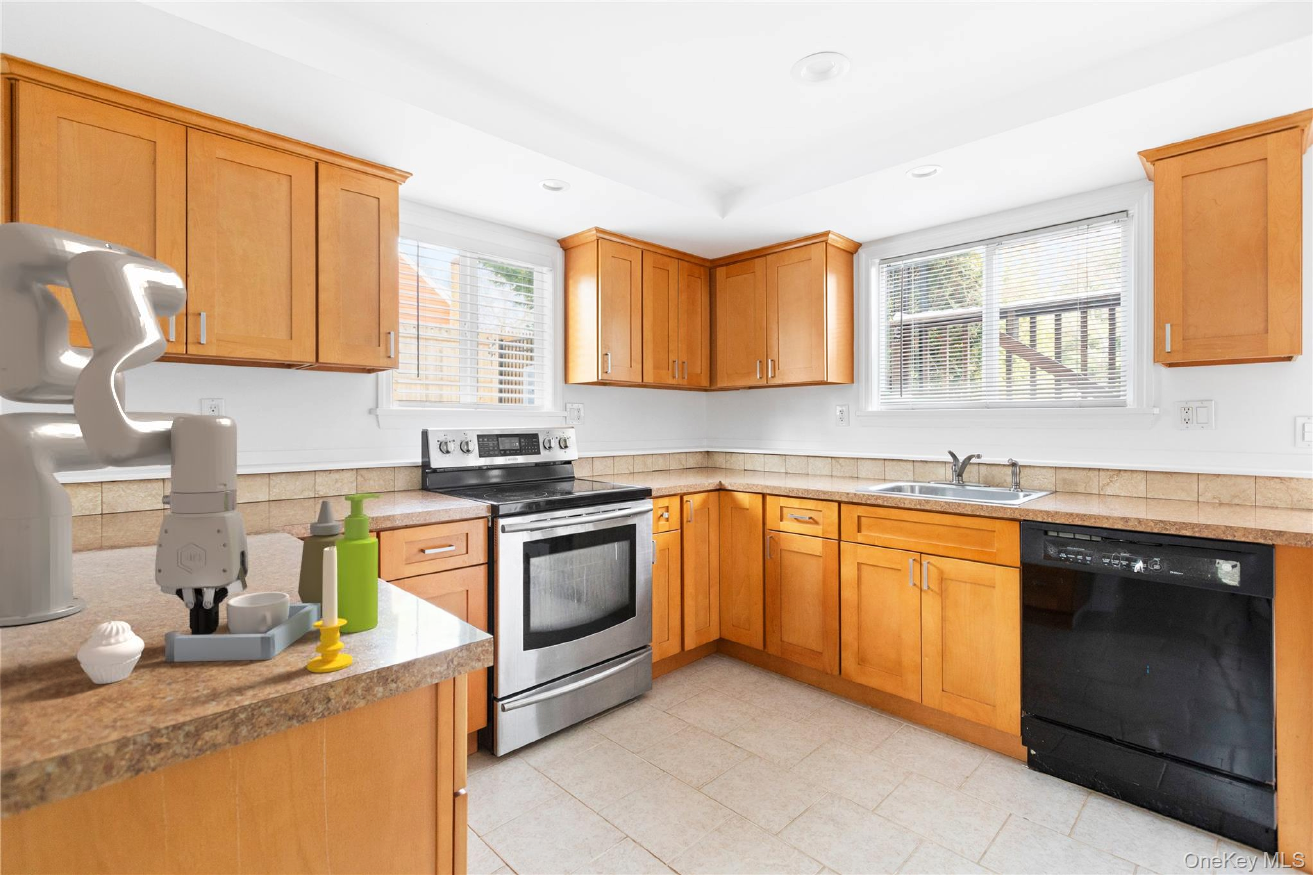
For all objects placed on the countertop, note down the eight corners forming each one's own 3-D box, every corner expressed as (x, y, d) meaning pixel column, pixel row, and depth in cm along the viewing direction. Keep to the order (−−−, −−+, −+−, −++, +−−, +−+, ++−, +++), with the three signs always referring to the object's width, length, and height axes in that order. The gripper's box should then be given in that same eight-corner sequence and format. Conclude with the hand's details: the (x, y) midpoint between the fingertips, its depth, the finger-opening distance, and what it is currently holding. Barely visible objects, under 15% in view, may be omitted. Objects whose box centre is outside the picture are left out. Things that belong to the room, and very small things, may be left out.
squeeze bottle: (363, 604, 108) (363, 498, 108) (334, 619, 100) (334, 504, 100) (318, 602, 109) (318, 497, 109) (286, 617, 101) (286, 503, 101)
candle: (323, 676, 78) (323, 549, 78) (297, 667, 81) (297, 544, 80) (361, 662, 83) (361, 542, 82) (336, 654, 85) (336, 538, 85)
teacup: (221, 635, 92) (221, 597, 92) (281, 623, 98) (281, 588, 97) (236, 653, 85) (236, 613, 85) (300, 640, 90) (300, 602, 90)
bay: (162, 662, 82) (162, 635, 82) (231, 623, 97) (231, 600, 97) (269, 660, 83) (269, 633, 83) (321, 622, 99) (321, 599, 99)
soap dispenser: (391, 621, 100) (391, 492, 99) (356, 634, 93) (357, 497, 93) (361, 616, 102) (361, 491, 101) (325, 629, 95) (325, 495, 95)
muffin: (125, 687, 74) (125, 627, 74) (63, 691, 73) (63, 630, 73) (155, 667, 80) (155, 611, 80) (98, 670, 79) (98, 614, 79)
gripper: (127, 506, 85) (127, 644, 85) (246, 507, 86) (246, 642, 87) (165, 499, 92) (165, 626, 93) (274, 500, 94) (274, 625, 94)
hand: (204, 633), depth 90 cm, fingers closed
